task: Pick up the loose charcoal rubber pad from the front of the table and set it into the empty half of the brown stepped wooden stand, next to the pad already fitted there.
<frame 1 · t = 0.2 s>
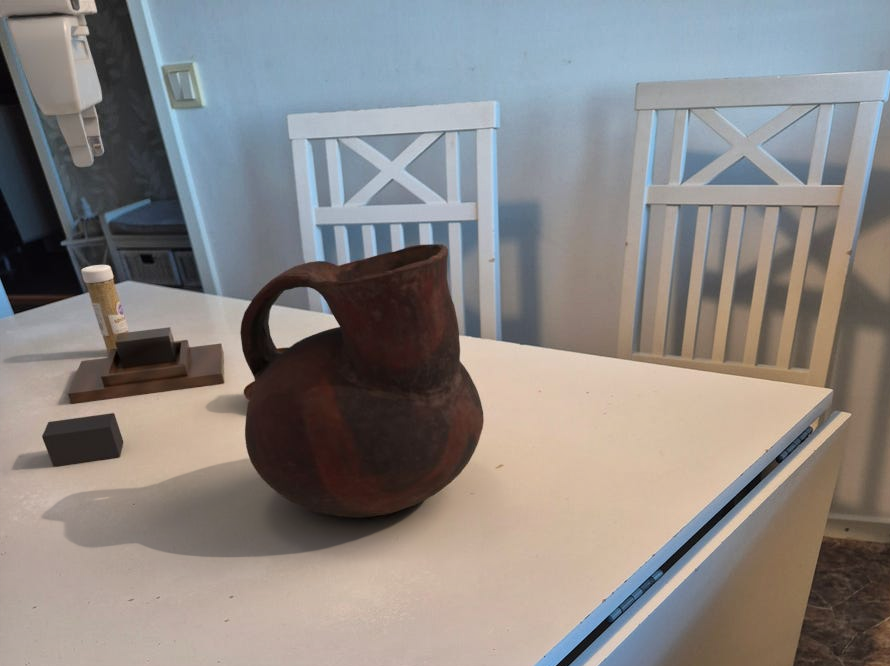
hand: (90, 160, 87), 32 cm above the table, tool pointing down, fingers open, 8 cm apart
brown stepped wooden stand: (151, 376, 130), on the table
cup and saucer: (289, 400, 119), on the table
pad: (89, 454, 107), on the table
jug: (373, 494, 93), on the table
sprinkles bottle: (121, 352, 142), on the table
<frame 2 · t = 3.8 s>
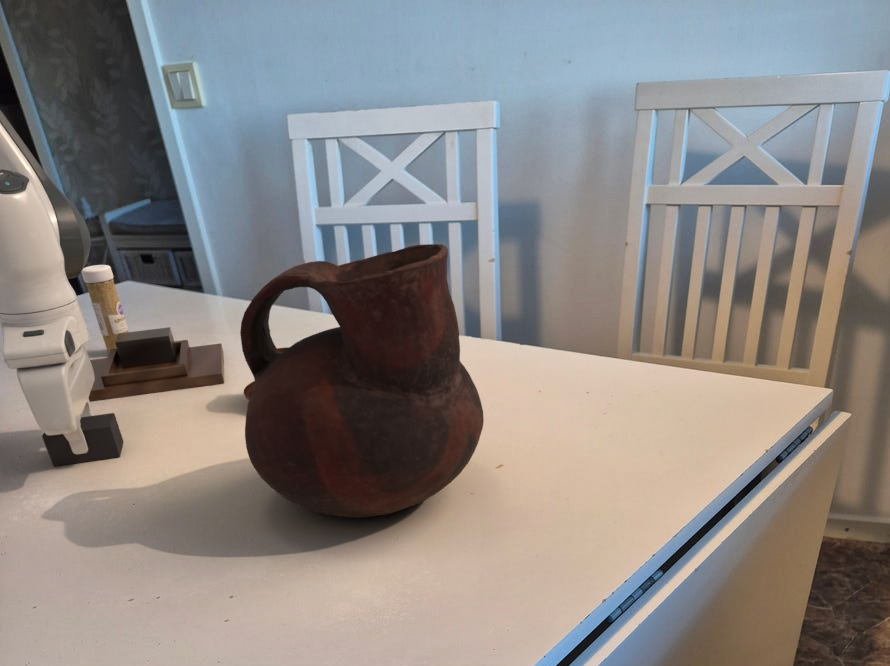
hand: (85, 442, 106), 2 cm above the table, tool pointing down, fingers closed on pad, 5 cm apart
pad: (89, 454, 107), on the table, touching gripper
everything else where it was.
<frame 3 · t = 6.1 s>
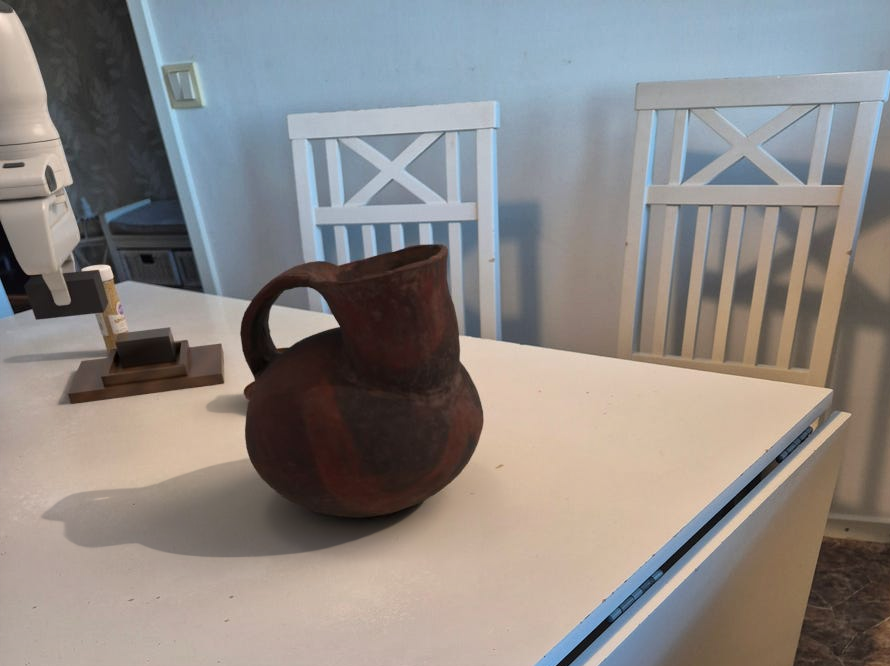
hand: (68, 297, 104), 17 cm above the table, tool pointing down, fingers closed on pad, 5 cm apart
pad: (73, 311, 105), point 15 cm above the table, touching gripper
everything else where it was.
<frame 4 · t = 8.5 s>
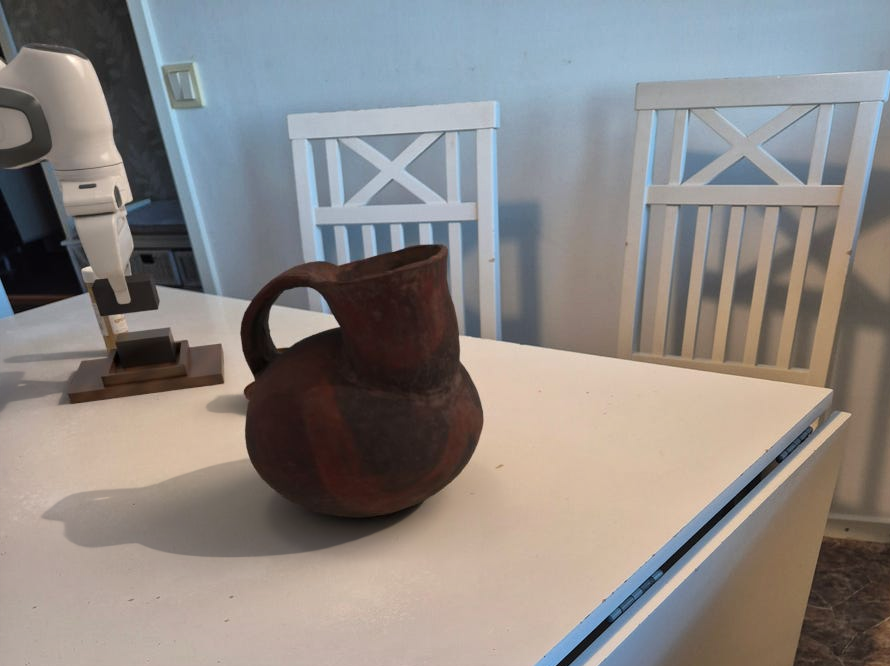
hand: (127, 297, 121), 12 cm above the table, tool pointing down, fingers closed on pad, 5 cm apart
pad: (130, 308, 122), point 11 cm above the table, touching gripper
everything else where it was.
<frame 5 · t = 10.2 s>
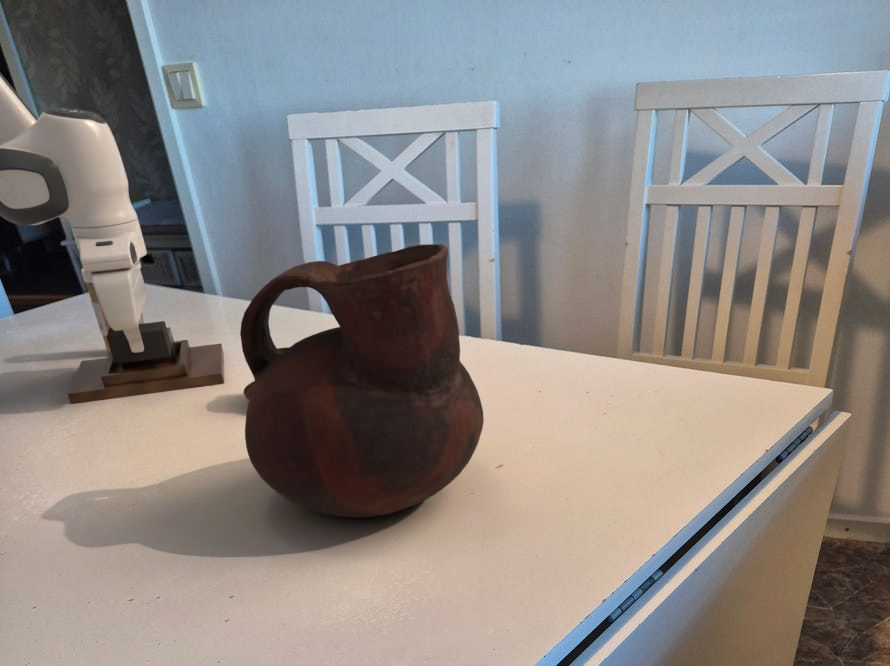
hand: (140, 344, 125), 6 cm above the table, tool pointing down, fingers closed on pad, 5 cm apart
pad: (143, 355, 126), point 4 cm above the table, touching gripper
everything else where it was.
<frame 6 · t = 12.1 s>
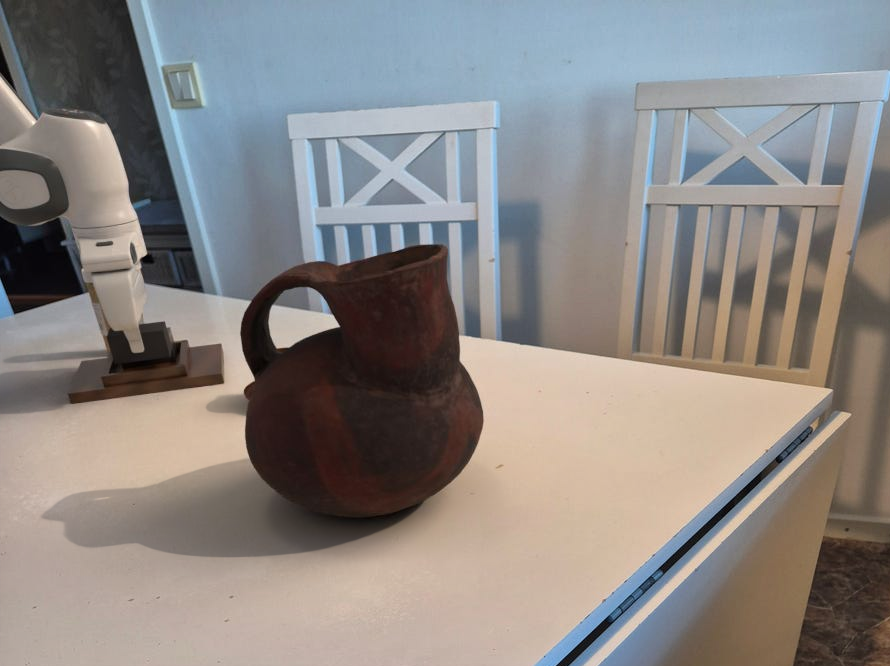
hand: (140, 345, 125), 6 cm above the table, tool pointing down, fingers closed on pad, 5 cm apart
pad: (144, 356, 126), point 4 cm above the table, touching gripper
everything else where it was.
when the fingers open (6 cm above the table, at t = 13.6 s): pad drops 2 cm, resting on brown stepped wooden stand.
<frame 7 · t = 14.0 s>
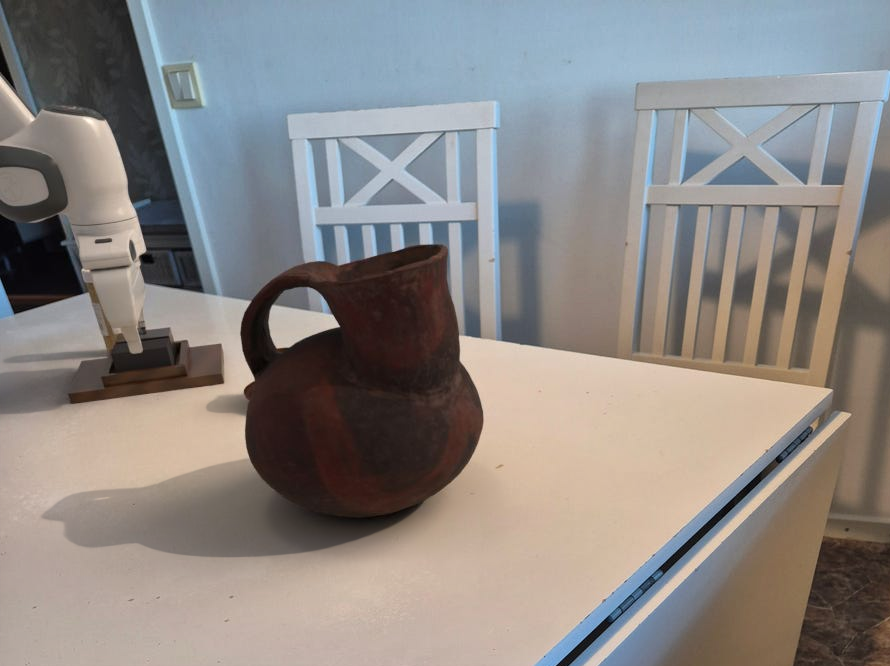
hand: (139, 342, 125), 6 cm above the table, tool pointing down, fingers open, 8 cm apart
pad: (147, 372, 127), point 1 cm above the table, touching brown stepped wooden stand
everything else where it was.
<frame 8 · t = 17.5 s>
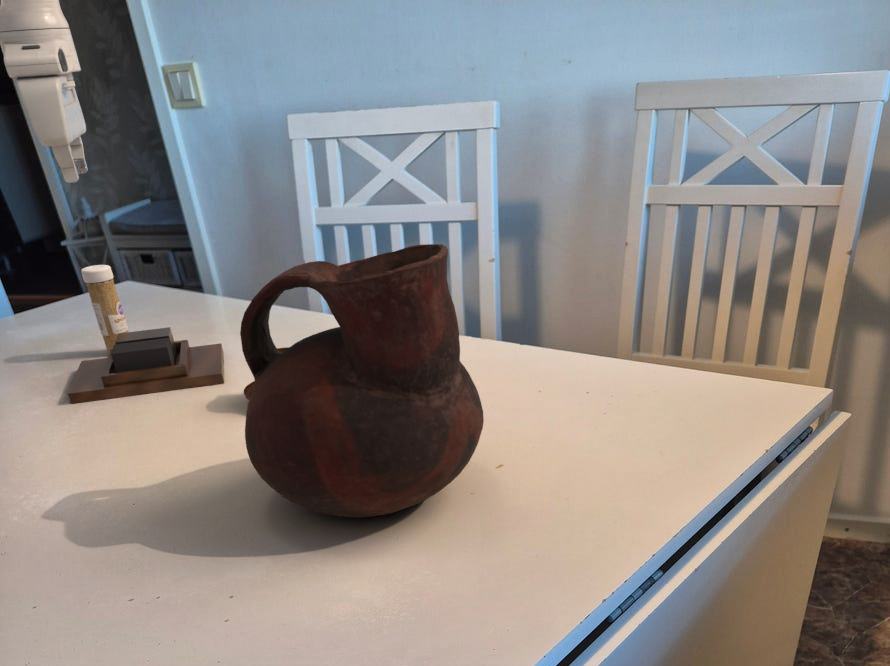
hand: (77, 177, 118), 27 cm above the table, tool pointing down, fingers open, 8 cm apart
nothing on the table moved.
at the end: pad 0.1 cm from the target spot on the brown stepped wooden stand, point 1.5 cm above the brown stepped wooden stand's base; pad tilted 0°; the gripper is holding nothing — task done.
